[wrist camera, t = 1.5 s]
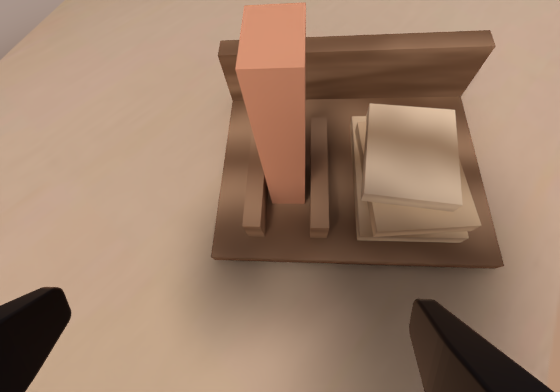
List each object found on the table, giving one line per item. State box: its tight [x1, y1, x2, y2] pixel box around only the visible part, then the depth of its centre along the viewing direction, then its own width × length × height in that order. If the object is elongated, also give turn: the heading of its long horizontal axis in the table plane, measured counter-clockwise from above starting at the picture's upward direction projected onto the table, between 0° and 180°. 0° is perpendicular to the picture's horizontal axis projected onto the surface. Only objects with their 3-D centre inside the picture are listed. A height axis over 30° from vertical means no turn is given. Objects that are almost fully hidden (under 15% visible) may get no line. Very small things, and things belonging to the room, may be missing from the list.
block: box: [235, 3, 306, 204], centre depth 17 cm, size 4×2×13 cm
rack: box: [211, 30, 504, 268], centre depth 21 cm, size 16×20×6 cm
